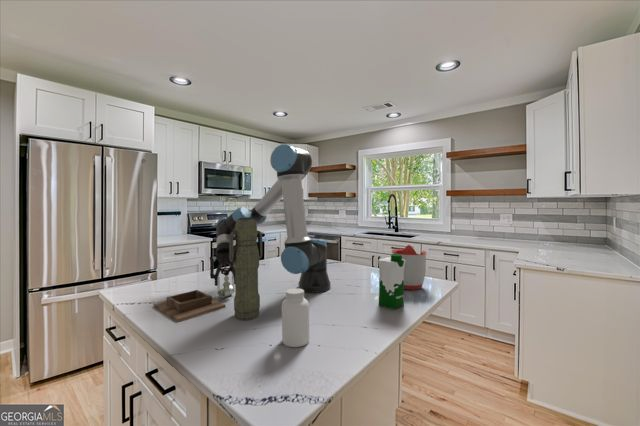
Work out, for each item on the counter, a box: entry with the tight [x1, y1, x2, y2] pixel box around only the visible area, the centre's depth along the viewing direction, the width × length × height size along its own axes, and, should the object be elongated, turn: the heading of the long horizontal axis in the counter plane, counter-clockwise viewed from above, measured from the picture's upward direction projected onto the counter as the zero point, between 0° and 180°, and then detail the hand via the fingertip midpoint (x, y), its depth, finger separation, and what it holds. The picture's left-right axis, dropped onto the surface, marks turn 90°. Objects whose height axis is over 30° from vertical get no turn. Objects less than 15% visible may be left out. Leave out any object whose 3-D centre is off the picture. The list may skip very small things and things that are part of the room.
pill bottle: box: [281, 287, 310, 348], centre depth 85 cm, size 8×8×15 cm
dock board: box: [153, 289, 226, 323], centre depth 113 cm, size 22×18×4 cm
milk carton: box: [377, 254, 406, 310], centre depth 114 cm, size 9×9×20 cm
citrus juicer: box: [391, 244, 427, 291], centre depth 138 cm, size 16×17×20 cm
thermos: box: [229, 218, 263, 321], centre depth 104 cm, size 9×12×35 cm
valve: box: [217, 266, 235, 299], centre depth 125 cm, size 7×7×12 cm
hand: (226, 291), depth 121 cm, fingers open, 5 cm apart
